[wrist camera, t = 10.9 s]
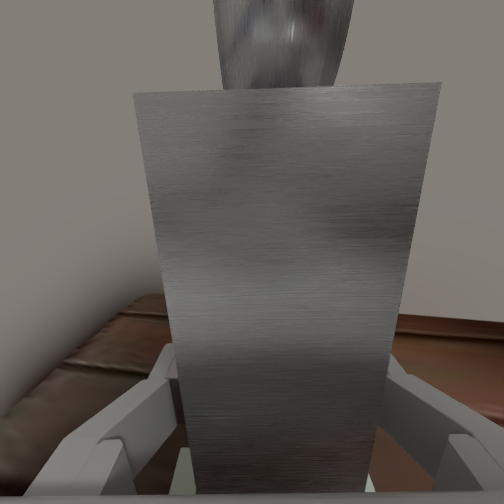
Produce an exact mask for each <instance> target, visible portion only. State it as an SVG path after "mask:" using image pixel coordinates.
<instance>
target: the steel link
mask: <svg viewBox="0 0 504 504" xmlns="http://www.w3.org/2000/svg"><path fill="white" fill-rule="evenodd" d="M353 2H354V0H213V3H214V13H215V23H216V33H217V42H218V51H219V58H220V67H221V75H222V82H223V89H224V90H209V91H182V92H181V91H178V92H151V93H150V92H149V93H133V98H134V104H135V111H136V117H137V123H138V130H139V136H140V142H141V148H142V155H143V160H144V167H145V173H146V180H147V186H148V192H149V198H150V205H151V211H152V217H153V223H154V230H155V236H156V242H157V248H158V254H159V261H160V267H161V273H162V280H163V286H164V292H165V298H166V305H167V311H168V317H169V323H170V330H171V336H172V342H173V348H174V355H175V361H176V367H177V373H178V380H179V386H180V392H181V398H182V405H183V411H184V417H185V423H186V430H187V436H188V442H189V448H190V455H191V461H192V467H193V473H194V480H195V486H196V492H197V494H267V493H346V492H365V488H366V483H367V478H368V472H369V467H370V462H371V456H372V451H373V446H374V440H375V435H376V430H377V424H378V419H379V414H380V408H381V403H382V398H383V392H384V387H385V382H386V377H387V371H388V366H389V361H390V355H391V350H392V345H393V339H394V334H395V329H396V323H397V318H398V313H399V307H400V302H401V297H402V291H403V286H404V280H405V275H406V270H407V265H408V259H409V254H410V248H411V243H412V238H413V233H414V227H415V221H416V217H417V211H418V206H419V201H420V195H421V190H422V185H423V179H424V173H425V169H426V163H427V158H428V152H429V147H430V142H431V136H432V131H433V126H434V121H435V115H436V109H437V105H438V99H439V94H440V89H441V83H442V82H436V83H409V84H380V85H353V86H351V85H350V86H333V85H334V82H335V79H336V75H337V72H338V68H339V65H340V61H341V58H342V54H343V50H344V46H345V42H346V37H347V32H348V28H349V23H350V18H351V13H352V8H353Z"/></svg>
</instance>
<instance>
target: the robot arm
mask: <svg viewBox="0 0 504 504" xmlns="http://www.w3.org/2000/svg"><path fill="white" fill-rule="evenodd" d="M177 424H186V423H185V417H184V411H183V405H182V398H181V392H180V386H179V380H178V373H177V367H176V361H175V355H174V348H173V343H167V344H166V345H165V346H164V348H163V350H162V352H161V353H160V355H159V357H158V359H157V361H156V363H155V365H154V367H153V369H152V371H151V373H150V375H149V377H148V379H147V380H142V381H140V382H139V383H138V384H136V385H135V386H134V387H132V388H131V389H130V390H128V391H127V392H126V393H124V394H123V395H122V396H120V397H119V398H117V399H116V400H115V401H113V402H112V403H111V404H109V405H108V406H107V407H105V408H104V409H103V410H101V411H100V412H99V413H97V414H96V415H95V416H93V417H92V418H91V419H89V420H88V421H87V422H85V423H84V424H82V425H81V426H80V427H78V428H77V429H76V430H74V431H73V432H72V433H70V434H69V435H68V436H66V437H65V438H64V439H63V440H62V441H61V443H60V444H59V446H58V447H57V449H56V450H55V451H54V453H53V454H52V456H51V457H50V458H49V460H48V461H47V463H46V464H45V465H44V467H43V468H42V470H41V471H40V472H39V474H38V475H37V477H36V478H35V479H34V481H33V482H32V484H31V485H30V487H29V488H28V489H27V491H26V492H25V494H24V495H23V496H20V497H0V504H504V428H502V427H500V426H499V425H497V424H495V423H493V422H492V421H490V420H488V419H487V418H485V417H483V416H482V415H480V414H478V413H477V412H475V411H473V410H471V409H470V408H468V407H466V406H465V405H463V404H461V403H460V402H458V401H456V400H454V399H453V398H451V397H449V396H448V395H446V394H444V393H443V392H441V391H439V390H438V389H436V388H434V387H432V386H431V385H429V384H427V383H426V382H424V381H422V380H421V379H419V378H417V377H415V376H414V375H407V373H406V372H405V371H404V370H403V368H402V367H401V366H400V364H399V363H398V362H397V360H396V359H395V358H394V356H393V355H392V354H391V355H390V361H389V366H388V371H387V377H386V382H385V387H384V392H383V398H382V403H381V408H380V414H379V419H378V424H379V425H380V426H381V427H382V428H383V429H384V430H385V431H386V432H387V433H388V434H389V435H390V436H391V437H392V438H393V439H394V440H395V441H396V442H397V443H398V444H399V445H400V446H401V447H402V448H403V449H404V450H405V451H406V452H407V453H408V454H409V455H410V456H411V457H412V458H413V459H414V460H415V461H416V462H417V463H418V464H419V465H420V466H421V467H422V468H423V469H424V470H425V471H426V472H427V473H428V474H429V475H430V476H431V477H432V478H433V479H434V480H435V481H434V484H433V488H432V491H421V492H346V493H267V494H185V495H137V492H136V488H135V485H134V481H133V480H134V479H135V478H136V476H137V475H138V474H139V473H140V471H141V470H142V469H143V468H144V466H145V465H146V464H147V463H148V462H149V460H150V459H151V458H152V457H153V455H154V454H155V453H156V452H157V450H158V449H159V448H160V447H161V445H162V444H163V443H164V442H165V441H166V439H167V438H168V437H169V436H170V434H171V433H172V432H173V431H174V429H175V428H176V427H177Z"/></svg>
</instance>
